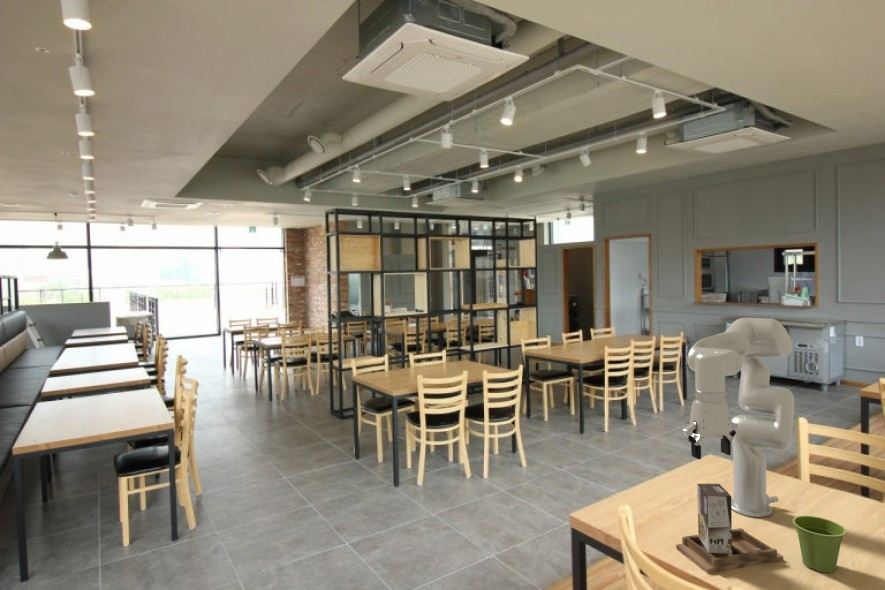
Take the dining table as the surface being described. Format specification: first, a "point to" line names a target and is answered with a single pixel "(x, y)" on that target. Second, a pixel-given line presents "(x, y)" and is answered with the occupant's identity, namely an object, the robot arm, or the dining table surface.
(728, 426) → the robot arm
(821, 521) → the plant pot
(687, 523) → the dining table surface
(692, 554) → the divided wooden tray
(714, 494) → the coffee box
